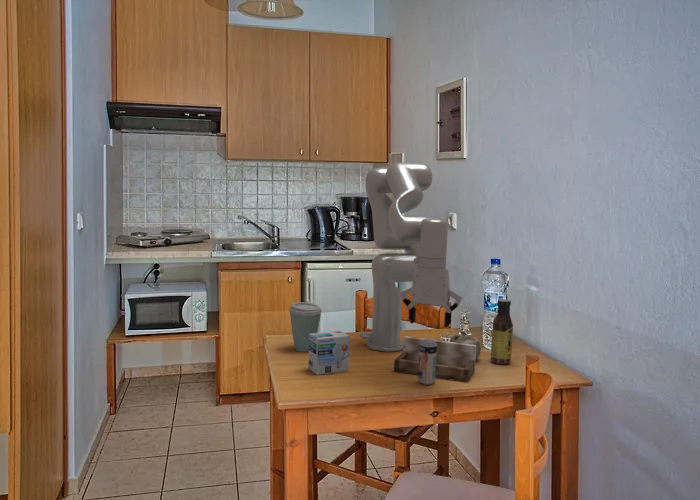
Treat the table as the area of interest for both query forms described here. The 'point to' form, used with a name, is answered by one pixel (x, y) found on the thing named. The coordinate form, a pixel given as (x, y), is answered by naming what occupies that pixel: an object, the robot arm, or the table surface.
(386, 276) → the robot arm
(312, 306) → the disposable coffee cup
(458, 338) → the ceramic sculpture
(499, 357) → the sauce bottle
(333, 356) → the light bulb box
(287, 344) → the table surface
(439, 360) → the wooden tray
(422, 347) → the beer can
